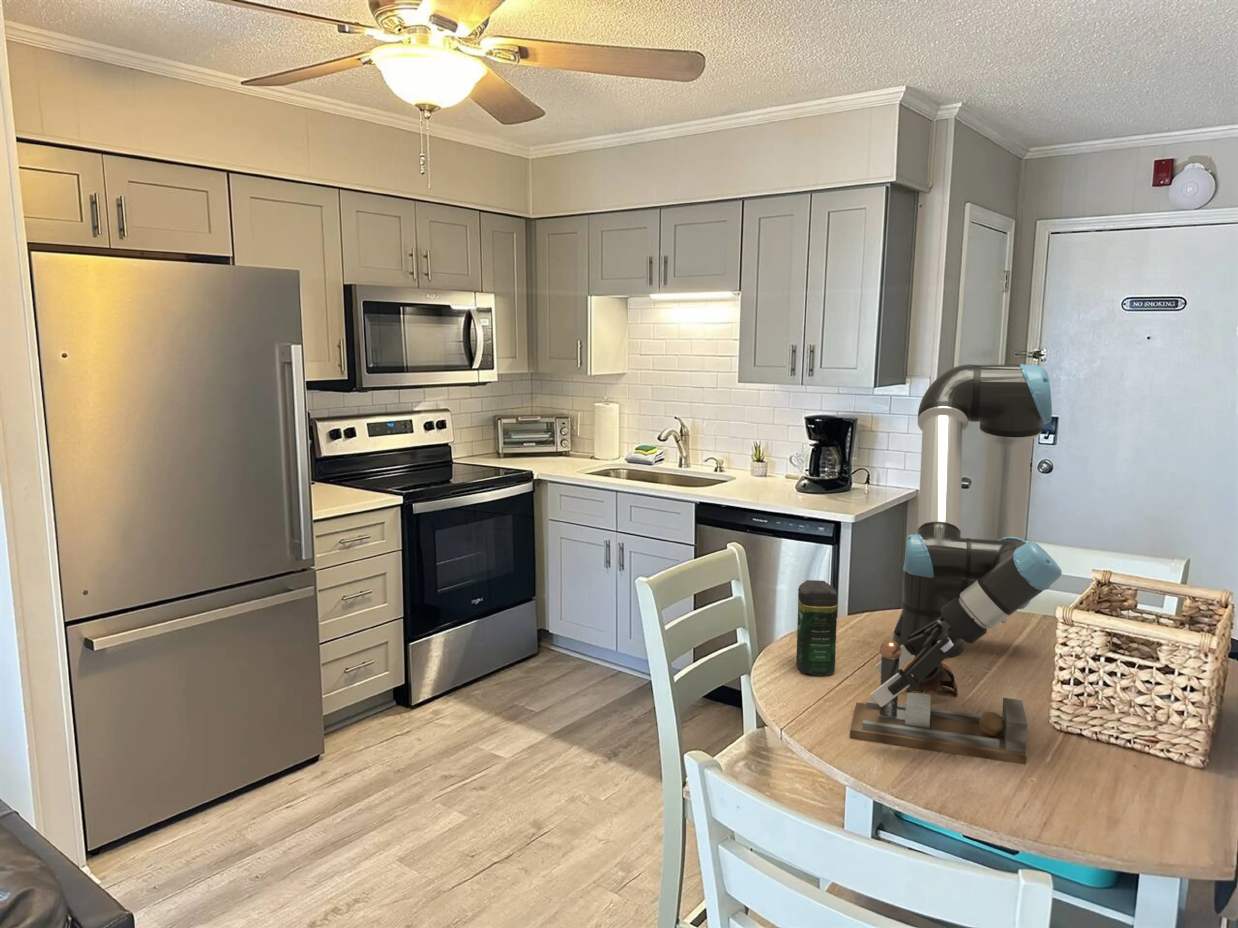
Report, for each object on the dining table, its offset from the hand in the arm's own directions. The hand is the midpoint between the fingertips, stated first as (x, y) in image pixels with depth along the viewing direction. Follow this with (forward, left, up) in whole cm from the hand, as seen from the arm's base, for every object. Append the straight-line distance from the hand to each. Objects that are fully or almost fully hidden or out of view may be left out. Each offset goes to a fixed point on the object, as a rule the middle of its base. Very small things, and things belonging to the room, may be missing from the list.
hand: (878, 685), depth 153 cm
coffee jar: (-16, -23, -8) cm, 29 cm away
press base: (-4, +9, -8) cm, 13 cm away
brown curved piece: (-22, 0, -8) cm, 23 cm away
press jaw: (-2, +4, -6) cm, 8 cm away
